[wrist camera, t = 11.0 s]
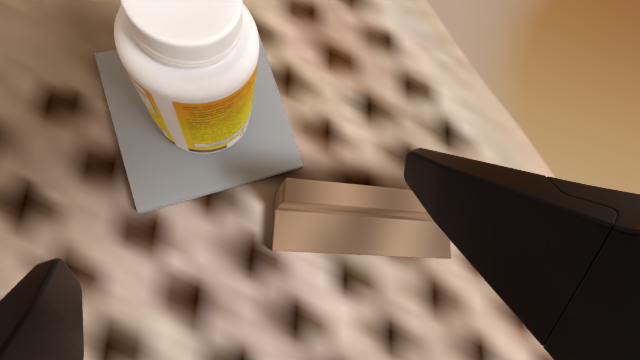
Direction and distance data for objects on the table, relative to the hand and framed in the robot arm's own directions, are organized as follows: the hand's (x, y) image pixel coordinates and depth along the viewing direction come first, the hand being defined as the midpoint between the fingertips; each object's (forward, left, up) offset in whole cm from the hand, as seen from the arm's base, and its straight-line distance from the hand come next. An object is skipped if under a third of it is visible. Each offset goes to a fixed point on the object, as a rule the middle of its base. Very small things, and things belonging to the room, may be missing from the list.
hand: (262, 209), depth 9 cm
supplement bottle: (+3, +7, -12) cm, 14 cm away
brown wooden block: (+6, -5, -13) cm, 15 cm away
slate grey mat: (+3, +7, -13) cm, 15 cm away
